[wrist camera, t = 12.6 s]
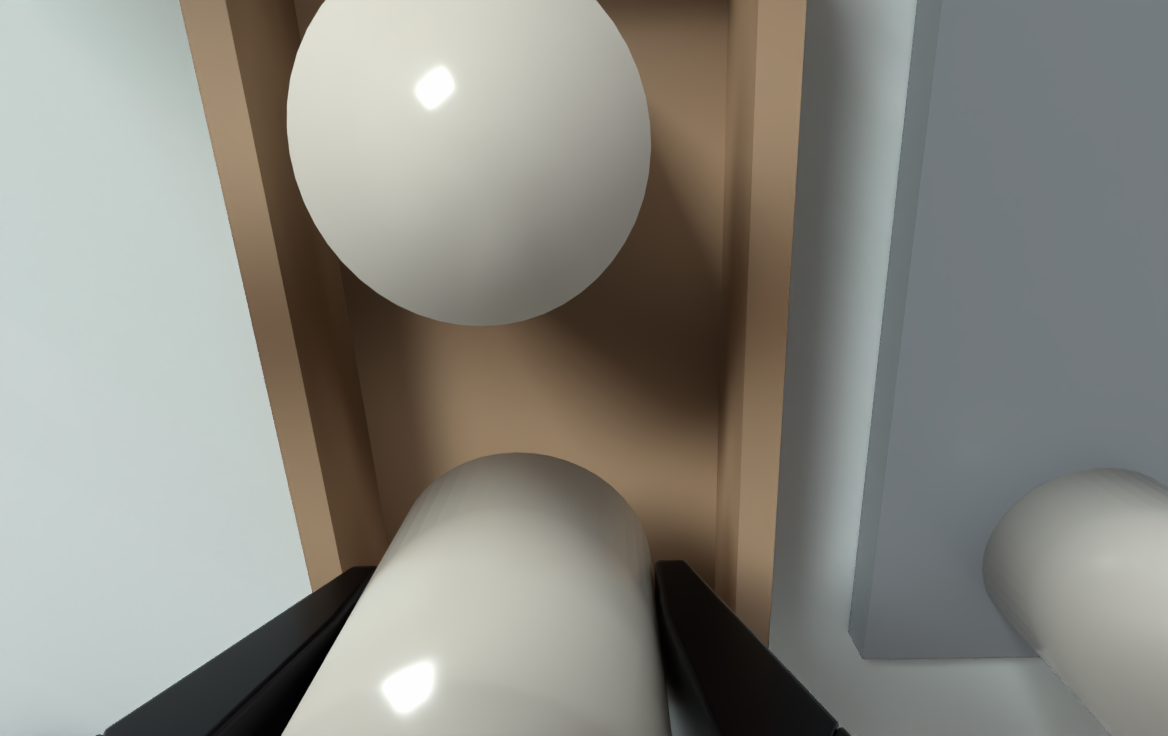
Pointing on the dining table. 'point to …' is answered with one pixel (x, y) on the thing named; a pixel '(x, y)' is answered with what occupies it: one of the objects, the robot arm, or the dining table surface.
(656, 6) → the walnut bin
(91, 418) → the dining table surface
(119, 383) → the dining table surface
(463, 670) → the pebble
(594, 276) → the pebble
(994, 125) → the slate board
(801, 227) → the dining table surface
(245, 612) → the dining table surface
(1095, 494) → the white rounded stone
